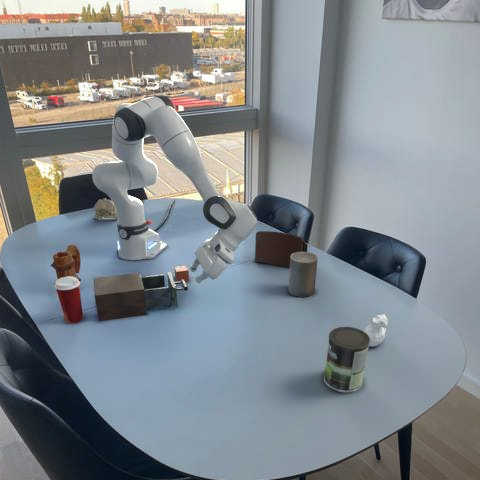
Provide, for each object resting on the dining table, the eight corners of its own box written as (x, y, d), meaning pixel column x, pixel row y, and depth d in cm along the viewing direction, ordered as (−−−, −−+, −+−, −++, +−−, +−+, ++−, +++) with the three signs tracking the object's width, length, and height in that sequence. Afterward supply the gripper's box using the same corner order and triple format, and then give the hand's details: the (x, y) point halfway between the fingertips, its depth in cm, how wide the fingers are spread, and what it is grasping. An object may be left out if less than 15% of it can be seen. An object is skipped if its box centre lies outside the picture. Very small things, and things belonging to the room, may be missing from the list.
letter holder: (300, 269, 188) (303, 236, 181) (254, 262, 194) (255, 229, 187) (306, 260, 196) (309, 228, 189) (262, 253, 202) (263, 222, 195)
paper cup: (91, 315, 155) (84, 277, 148) (77, 326, 149) (69, 287, 142) (71, 311, 158) (63, 274, 150) (56, 322, 151) (47, 284, 144)
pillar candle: (317, 288, 173) (321, 250, 166) (309, 299, 166) (313, 260, 158) (293, 283, 177) (295, 246, 169) (284, 294, 169) (286, 255, 162)
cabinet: (142, 296, 167) (139, 272, 162) (147, 315, 156) (144, 289, 151) (97, 302, 163) (93, 277, 158) (99, 321, 152) (94, 295, 147)
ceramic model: (90, 219, 240) (86, 200, 235) (99, 213, 249) (96, 194, 244) (116, 221, 238) (113, 202, 233) (124, 214, 247) (121, 195, 242)
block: (186, 276, 182) (186, 265, 180) (189, 281, 178) (188, 270, 176) (175, 277, 181) (174, 266, 178) (177, 282, 177) (176, 271, 175)
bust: (359, 356, 139) (384, 341, 130) (344, 335, 141) (368, 319, 132) (382, 342, 146) (407, 326, 137) (368, 322, 148) (392, 305, 139)
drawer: (184, 290, 170) (182, 270, 166) (190, 305, 160) (189, 285, 156) (131, 296, 165) (128, 276, 161) (134, 313, 155) (132, 292, 151)
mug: (73, 297, 167) (65, 258, 159) (52, 294, 168) (43, 256, 161) (92, 279, 179) (85, 242, 171) (72, 277, 181) (65, 241, 173)
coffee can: (329, 394, 121) (334, 349, 114) (319, 370, 130) (324, 327, 123) (367, 392, 122) (375, 347, 114) (356, 368, 131) (362, 325, 123)
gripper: (207, 230, 166) (182, 259, 168) (221, 252, 149) (193, 283, 151) (220, 241, 169) (194, 269, 171) (235, 263, 152) (207, 293, 155)
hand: (194, 275), depth 161 cm, fingers open, 8 cm apart
